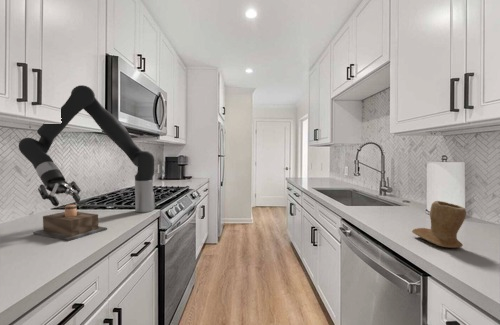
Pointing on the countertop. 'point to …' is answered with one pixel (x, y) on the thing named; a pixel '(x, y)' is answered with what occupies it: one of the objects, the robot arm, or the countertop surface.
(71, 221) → the hitch block
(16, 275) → the countertop surface
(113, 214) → the countertop surface
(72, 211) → the dowel pin
